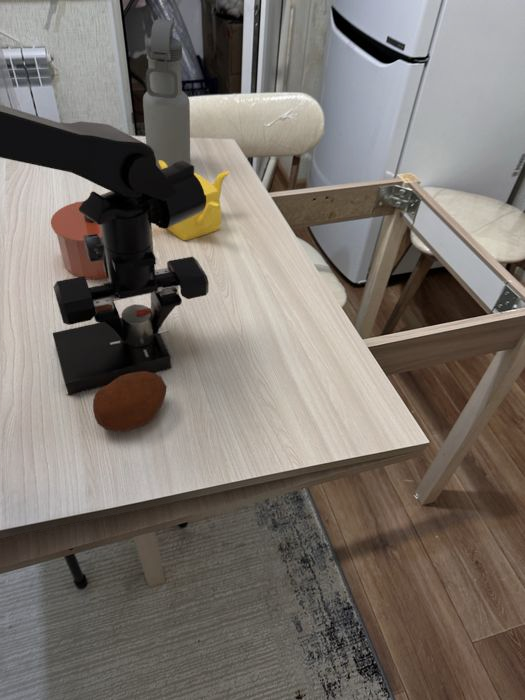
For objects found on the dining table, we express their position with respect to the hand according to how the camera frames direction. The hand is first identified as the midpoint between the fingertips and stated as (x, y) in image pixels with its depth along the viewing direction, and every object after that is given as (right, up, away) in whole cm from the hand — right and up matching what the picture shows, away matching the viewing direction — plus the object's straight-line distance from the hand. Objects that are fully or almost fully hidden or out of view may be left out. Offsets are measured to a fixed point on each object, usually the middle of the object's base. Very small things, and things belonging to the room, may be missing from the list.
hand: (139, 335), depth 69 cm
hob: (-4, -3, +1) cm, 5 cm away
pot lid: (-11, +19, +11) cm, 24 cm away
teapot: (+3, +23, +28) cm, 36 cm away
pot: (-11, +14, +16) cm, 24 cm away
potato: (+1, -11, -6) cm, 12 cm away
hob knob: (0, 0, 0) cm, 0 cm away
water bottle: (-4, +41, +44) cm, 60 cm away
